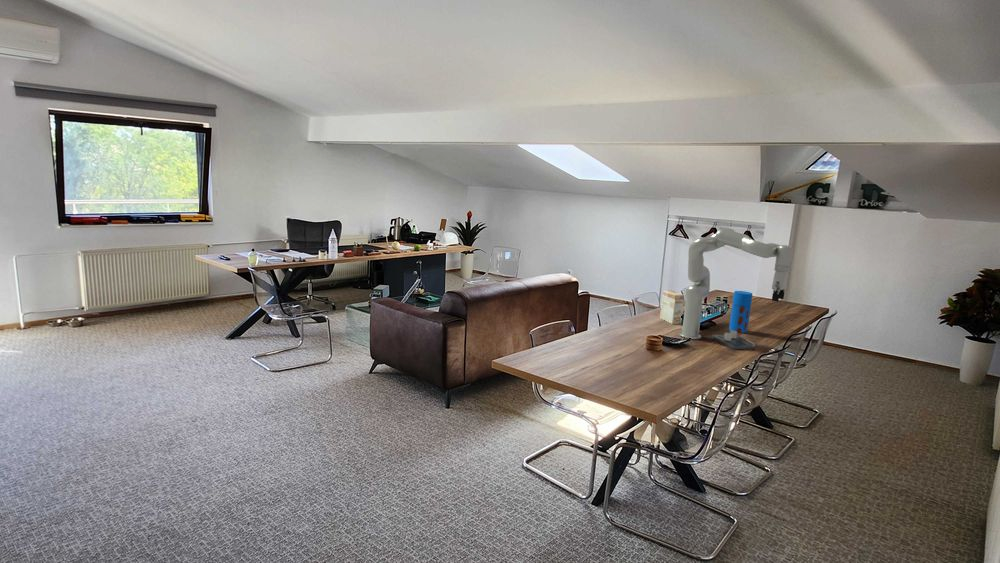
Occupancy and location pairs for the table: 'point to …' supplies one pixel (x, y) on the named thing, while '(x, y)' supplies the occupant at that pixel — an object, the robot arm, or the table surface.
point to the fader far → (733, 333)
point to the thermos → (740, 311)
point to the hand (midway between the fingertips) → (777, 299)
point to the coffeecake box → (671, 306)
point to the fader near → (727, 336)
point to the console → (734, 342)
